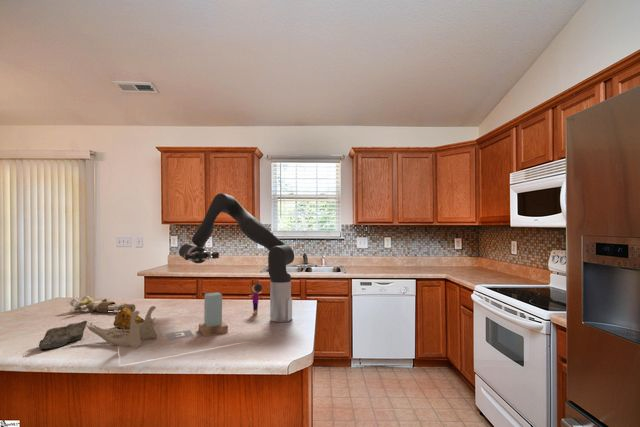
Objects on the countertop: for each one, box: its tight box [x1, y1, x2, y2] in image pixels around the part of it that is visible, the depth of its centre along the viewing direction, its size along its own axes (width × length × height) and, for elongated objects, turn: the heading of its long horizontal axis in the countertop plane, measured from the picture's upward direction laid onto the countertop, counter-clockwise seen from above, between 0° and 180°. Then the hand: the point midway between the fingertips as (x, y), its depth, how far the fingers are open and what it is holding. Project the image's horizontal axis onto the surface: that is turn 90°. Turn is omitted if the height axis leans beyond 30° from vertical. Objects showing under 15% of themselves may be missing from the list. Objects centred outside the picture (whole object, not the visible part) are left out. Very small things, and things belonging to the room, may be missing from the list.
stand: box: [198, 320, 229, 337], centre depth 132 cm, size 9×9×3 cm
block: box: [203, 291, 223, 327], centre depth 133 cm, size 6×6×12 cm
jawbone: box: [86, 305, 158, 349], centre depth 121 cm, size 25×10×14 cm, turn 80°
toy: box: [248, 282, 263, 315], centre depth 159 cm, size 10×6×15 cm, turn 154°
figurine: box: [69, 295, 136, 314], centre depth 164 cm, size 24×7×30 cm
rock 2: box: [112, 308, 145, 330], centre depth 138 cm, size 11×8×10 cm
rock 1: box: [38, 320, 88, 350], centre depth 120 cm, size 17×7×10 cm
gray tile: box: [165, 329, 195, 341], centre depth 128 cm, size 9×9×1 cm
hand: (205, 256), depth 143 cm, fingers open, 8 cm apart
